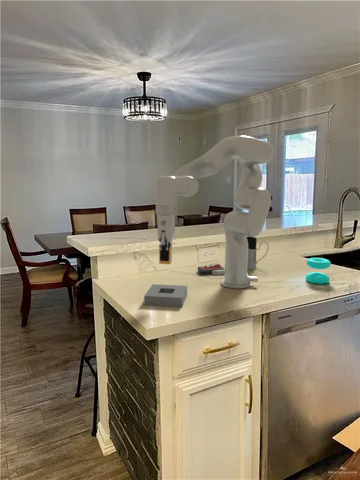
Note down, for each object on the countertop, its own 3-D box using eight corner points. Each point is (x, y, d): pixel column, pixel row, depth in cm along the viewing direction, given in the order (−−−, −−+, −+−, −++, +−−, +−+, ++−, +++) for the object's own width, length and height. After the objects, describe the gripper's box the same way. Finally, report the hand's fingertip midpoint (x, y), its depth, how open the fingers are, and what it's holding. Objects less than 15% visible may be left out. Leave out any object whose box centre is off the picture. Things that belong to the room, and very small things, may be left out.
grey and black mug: (240, 264, 193) (241, 236, 190) (268, 266, 188) (269, 237, 185) (237, 268, 185) (238, 239, 182) (266, 270, 180) (268, 240, 177)
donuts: (302, 258, 163) (317, 256, 168) (300, 280, 165) (315, 277, 170) (320, 263, 155) (336, 260, 160) (319, 286, 156) (334, 282, 162)
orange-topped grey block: (171, 261, 139) (172, 243, 137) (169, 264, 135) (170, 245, 134) (161, 261, 139) (161, 243, 138) (159, 263, 135) (159, 245, 134)
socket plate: (187, 294, 146) (187, 285, 145) (182, 307, 132) (182, 297, 132) (152, 292, 148) (152, 284, 147) (144, 305, 134) (144, 295, 134)
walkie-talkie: (201, 277, 170) (240, 274, 176) (201, 268, 170) (240, 265, 175) (195, 272, 179) (232, 269, 184) (195, 263, 178) (233, 260, 183)
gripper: (172, 213, 125) (171, 265, 128) (179, 208, 141) (178, 255, 144) (150, 212, 126) (150, 264, 129) (160, 208, 142) (160, 254, 145)
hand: (165, 258), depth 137 cm, fingers closed on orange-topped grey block, 4 cm apart
